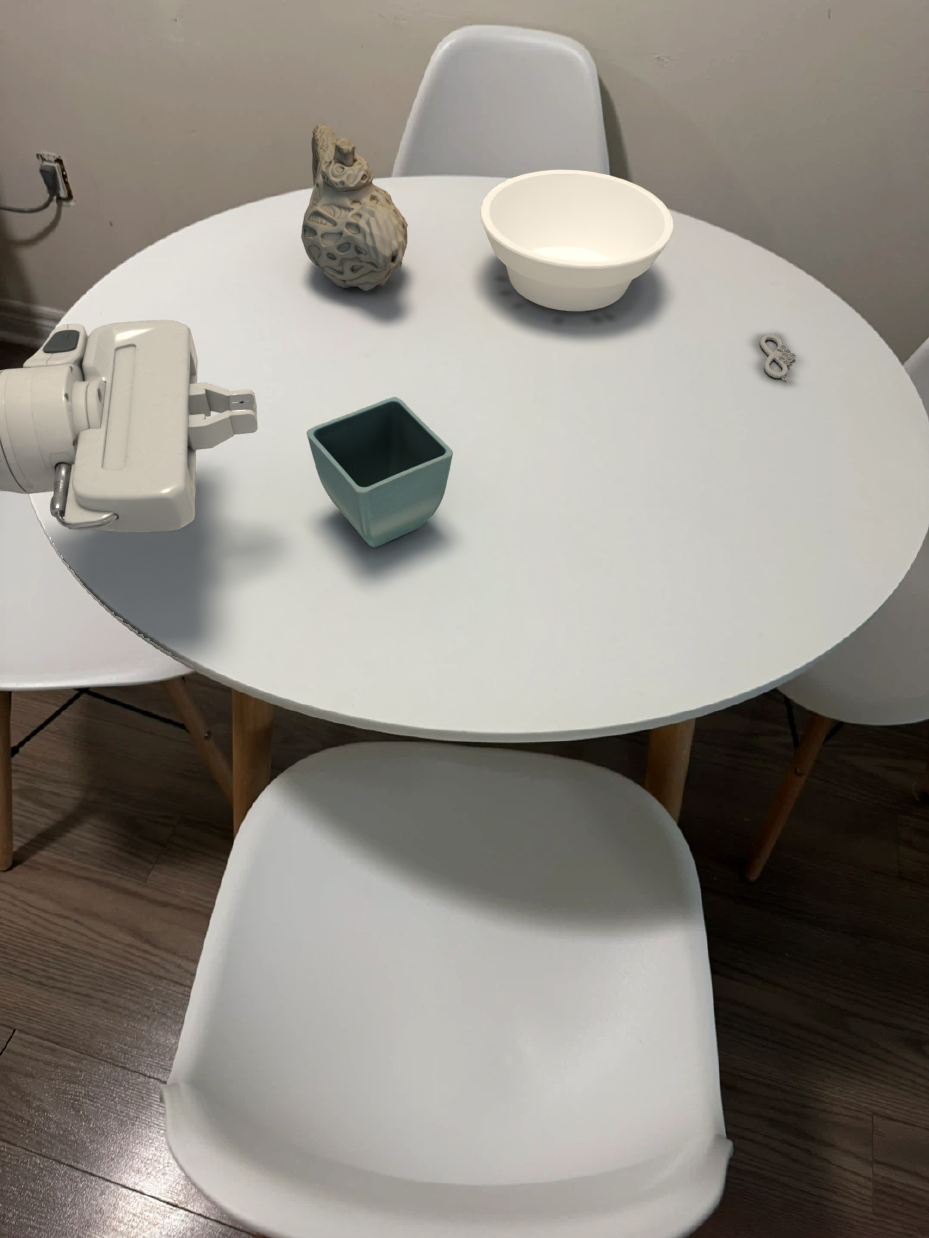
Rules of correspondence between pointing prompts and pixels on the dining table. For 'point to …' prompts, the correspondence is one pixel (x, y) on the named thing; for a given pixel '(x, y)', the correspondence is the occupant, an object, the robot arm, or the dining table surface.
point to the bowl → (574, 235)
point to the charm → (777, 356)
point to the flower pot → (381, 469)
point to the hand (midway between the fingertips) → (256, 410)
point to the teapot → (350, 217)
